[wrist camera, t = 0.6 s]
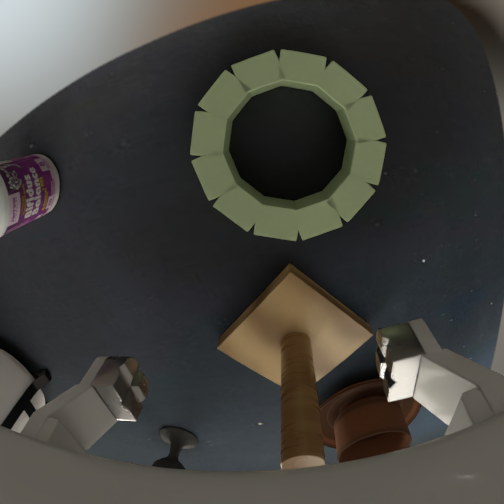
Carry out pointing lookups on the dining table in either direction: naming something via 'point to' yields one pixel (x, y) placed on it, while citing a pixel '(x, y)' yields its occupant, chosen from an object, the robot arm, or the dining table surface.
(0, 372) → the coffee press
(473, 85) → the dining table surface
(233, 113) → the ring
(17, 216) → the pill bottle
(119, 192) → the dining table surface
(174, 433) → the sundae
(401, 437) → the cup and saucer
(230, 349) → the hanger post
